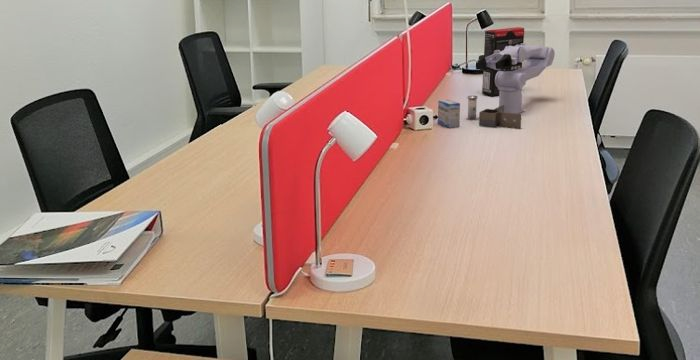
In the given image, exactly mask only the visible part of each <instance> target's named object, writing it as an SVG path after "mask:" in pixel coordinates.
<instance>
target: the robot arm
mask: <svg viewBox="0 0 700 360" xmlns="http://www.w3.org/2000/svg"><path fill="white" fill-rule="evenodd" d="M554 59H555V50H554V48H553V47H552V46H551V47H549V46H543V45H542V46H540V45H528V44H526V43H524V42H523V43H521V45H515V46H506V47H505V49H504V50H503V51H501V52H500V50H495V51H494V54H492V55H490V56H488V57H486V58H485V55H484V54H480V55H479V56H478V59H477V60H476V61H477V62H475V70H477V71H478V70H480V71H486V70H487V67H490V68H492V69H495V70H500V69H504V70H511V68H512V67H511V65H512V64H513V65H514V64H517V62H521V63H522V64H523V63H524V66H522V68H520V69H517V70H514V71H507V72H504V71H498V72H497V74H496V76H495V84H496V86H497V87H498V90H500V92H499V95H498V107H500V106H502V105H504V112H505V113H515V114H522V112H524V111H525V110H524V109H522V108H523V107H522V105H523V103H522V101H523V94H522V91H521V90H522V89H523V88H524V86H525V85H526V83H527V81H529V80H531V79H534V78H537V77H538V76H540V74H542V72H544V70H545V69H547V68H548V67H550V66H552V64H553V62H554ZM486 66H487V67H486Z"/></svg>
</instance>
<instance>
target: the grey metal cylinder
mask: <svg viewBox="0 0 700 360" xmlns="http://www.w3.org/2000/svg"><path fill="white" fill-rule="evenodd" d="M466 99H468V100H467V101H468V102H467V120H471V121H473V120H474V121H475V120H477V105H478V104H477V103H478V102H477V99H478V95H467V98H466Z"/></svg>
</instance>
